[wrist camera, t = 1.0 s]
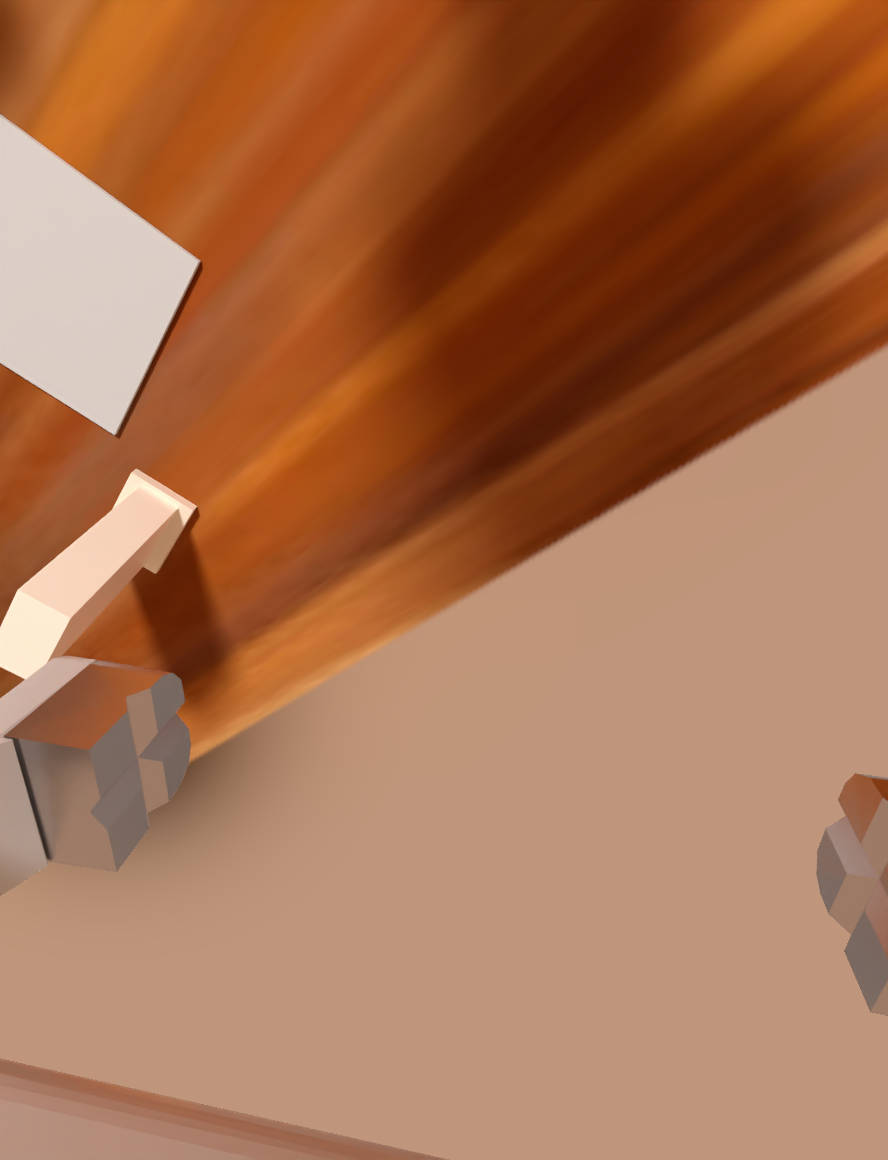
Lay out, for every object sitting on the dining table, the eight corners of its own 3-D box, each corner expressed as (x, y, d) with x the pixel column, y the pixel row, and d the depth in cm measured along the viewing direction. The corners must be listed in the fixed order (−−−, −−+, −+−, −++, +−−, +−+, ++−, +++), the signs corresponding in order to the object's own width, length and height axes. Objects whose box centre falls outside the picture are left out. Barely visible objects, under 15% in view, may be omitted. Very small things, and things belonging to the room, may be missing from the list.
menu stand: (101, 535, 52) (-34, 655, 38) (136, 468, 49) (2, 573, 35) (159, 569, 53) (48, 697, 39) (197, 506, 50) (90, 621, 36)
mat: (-175, 249, 42) (-180, 249, 42) (-127, 20, 36) (-133, 18, 36) (117, 433, 47) (114, 435, 47) (201, 261, 41) (198, 261, 41)
